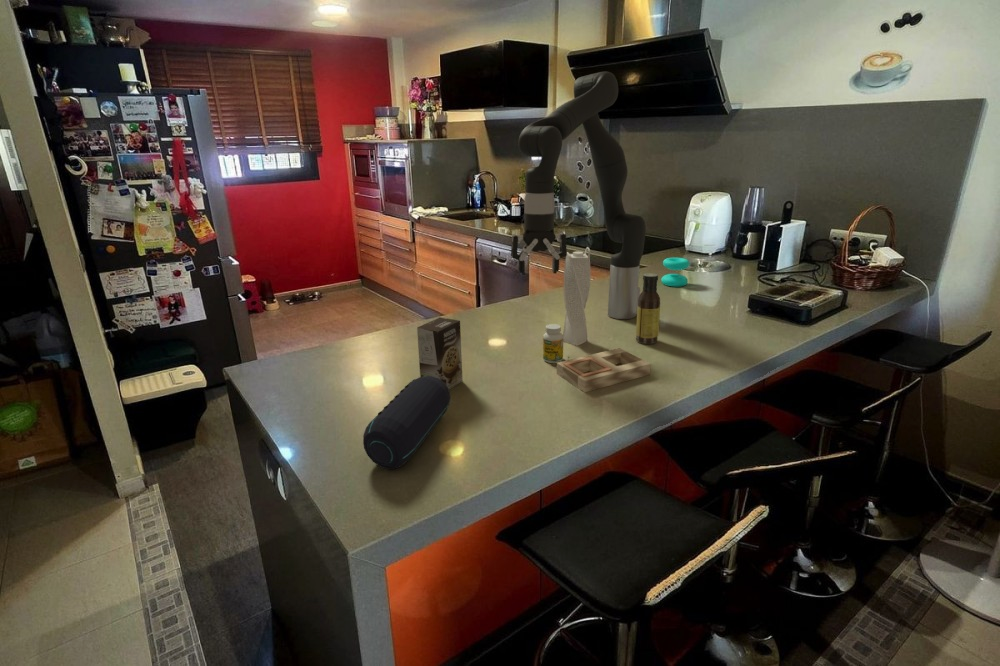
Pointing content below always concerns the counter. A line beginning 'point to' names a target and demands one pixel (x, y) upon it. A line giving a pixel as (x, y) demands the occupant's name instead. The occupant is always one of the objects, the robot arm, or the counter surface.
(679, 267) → the donuts
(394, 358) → the counter surface
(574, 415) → the counter surface
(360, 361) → the counter surface
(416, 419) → the portable speaker
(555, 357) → the supplement bottle
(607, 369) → the cup caddy
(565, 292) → the skyscraper
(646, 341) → the sauce bottle
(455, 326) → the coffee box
